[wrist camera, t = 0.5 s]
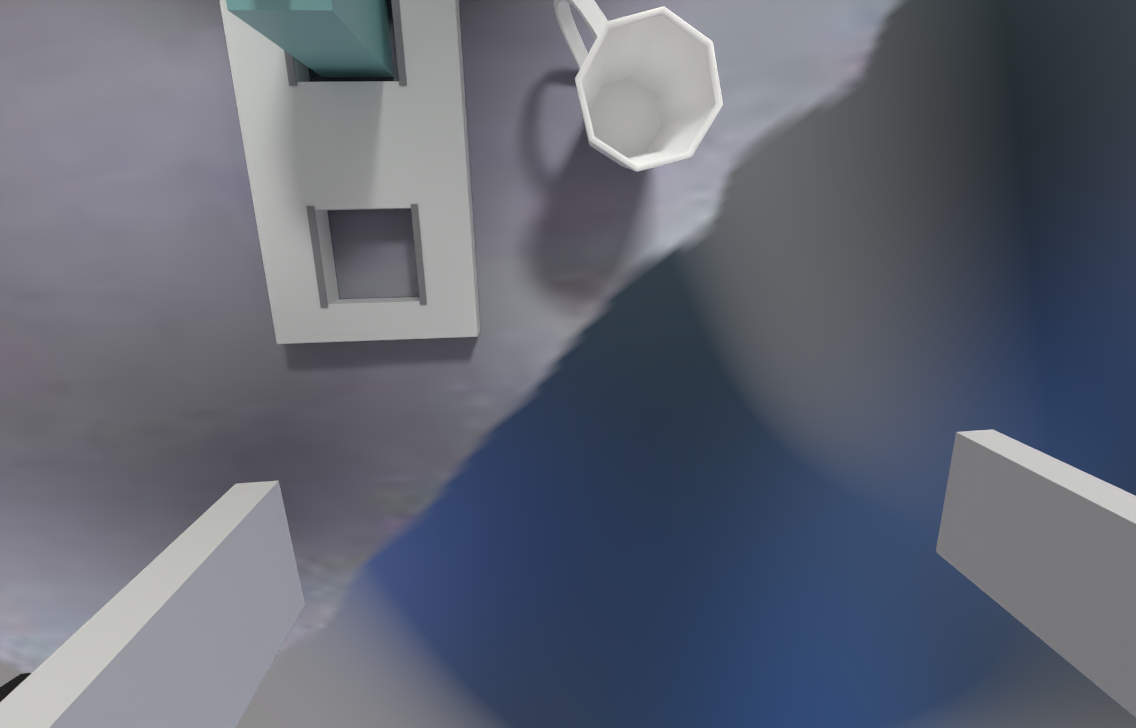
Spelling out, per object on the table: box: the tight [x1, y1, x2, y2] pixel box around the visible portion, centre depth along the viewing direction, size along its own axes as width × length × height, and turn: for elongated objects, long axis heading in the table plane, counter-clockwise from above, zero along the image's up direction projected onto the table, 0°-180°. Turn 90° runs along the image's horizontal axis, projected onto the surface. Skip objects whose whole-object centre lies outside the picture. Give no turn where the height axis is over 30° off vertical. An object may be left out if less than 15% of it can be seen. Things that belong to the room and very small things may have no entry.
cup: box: [554, 0, 723, 172], centre depth 28 cm, size 7×10×8 cm
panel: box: [219, 0, 480, 344], centre depth 31 cm, size 22×12×2 cm, turn 1°
